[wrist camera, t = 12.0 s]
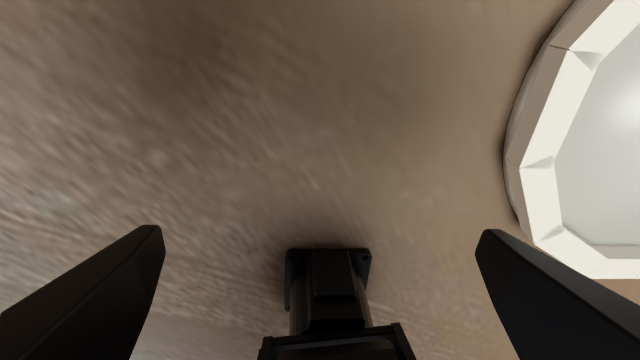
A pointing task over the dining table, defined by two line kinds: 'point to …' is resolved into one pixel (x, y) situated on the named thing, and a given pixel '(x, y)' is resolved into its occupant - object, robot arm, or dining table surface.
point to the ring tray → (581, 141)
